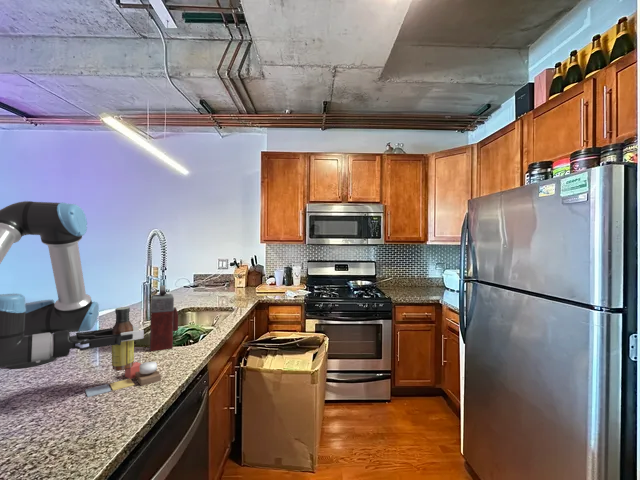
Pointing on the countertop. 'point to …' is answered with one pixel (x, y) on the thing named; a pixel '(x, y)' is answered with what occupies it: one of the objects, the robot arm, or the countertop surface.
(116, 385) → the square
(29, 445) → the countertop surface
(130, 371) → the die
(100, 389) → the square
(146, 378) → the brown flat block
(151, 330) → the dark red rectangular canister
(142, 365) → the dome
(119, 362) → the sauce bottle
